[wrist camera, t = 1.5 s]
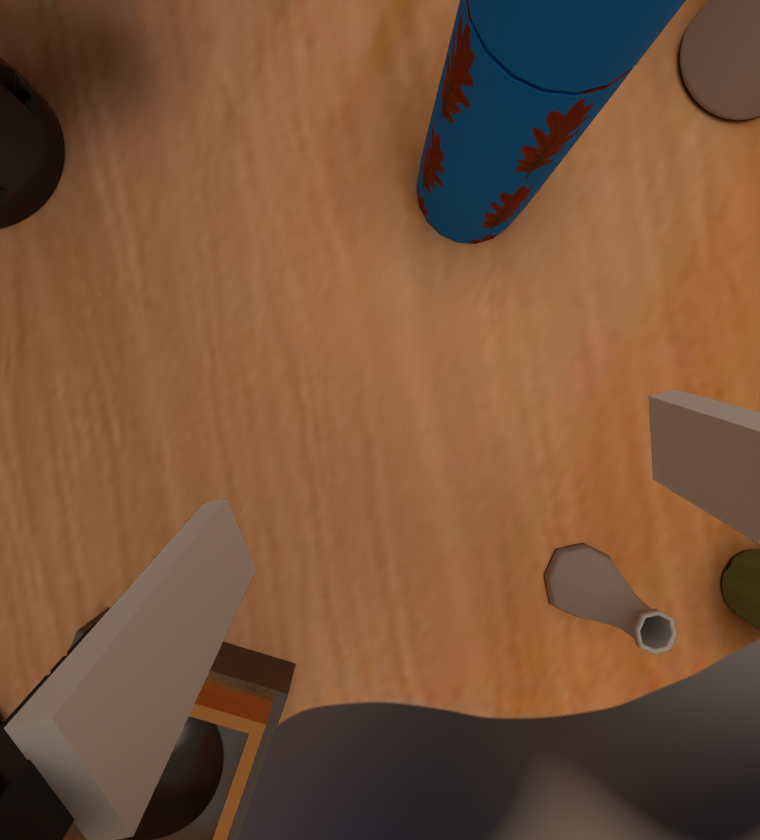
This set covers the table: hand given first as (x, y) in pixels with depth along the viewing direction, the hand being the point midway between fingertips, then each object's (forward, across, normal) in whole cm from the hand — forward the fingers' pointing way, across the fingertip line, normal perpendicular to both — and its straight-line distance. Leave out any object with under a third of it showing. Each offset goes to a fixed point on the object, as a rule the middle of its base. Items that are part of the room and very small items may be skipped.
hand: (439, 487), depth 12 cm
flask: (+21, +12, -24) cm, 35 cm away
